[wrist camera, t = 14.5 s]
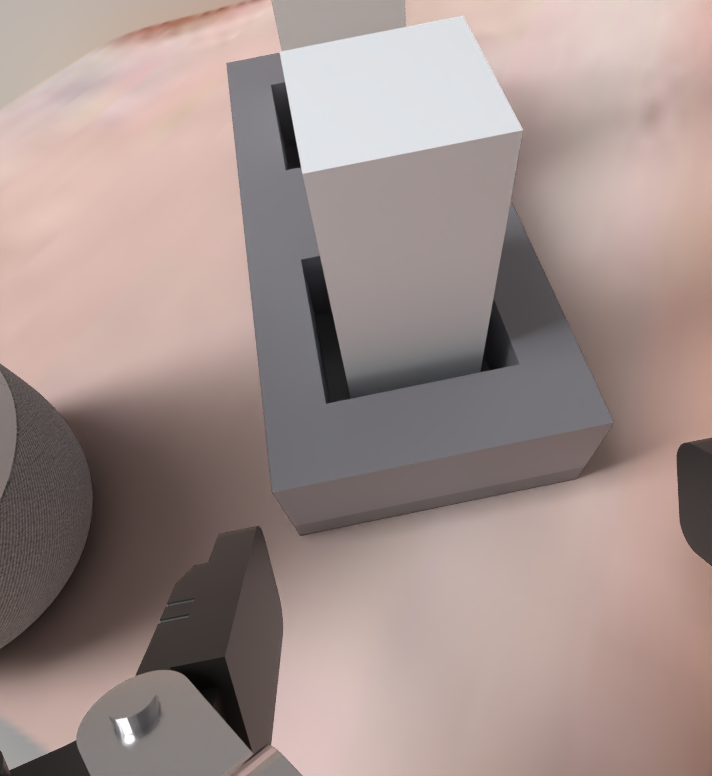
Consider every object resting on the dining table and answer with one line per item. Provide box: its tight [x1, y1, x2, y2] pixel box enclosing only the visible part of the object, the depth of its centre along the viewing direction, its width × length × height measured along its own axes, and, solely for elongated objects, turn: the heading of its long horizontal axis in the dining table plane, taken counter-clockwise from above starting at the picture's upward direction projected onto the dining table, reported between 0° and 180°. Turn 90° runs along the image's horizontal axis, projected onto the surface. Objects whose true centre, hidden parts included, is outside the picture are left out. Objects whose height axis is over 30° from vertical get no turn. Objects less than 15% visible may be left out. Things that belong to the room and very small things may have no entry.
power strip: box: [226, 0, 614, 535], centre depth 18 cm, size 9×20×11 cm, turn 10°
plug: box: [280, 16, 523, 399], centre depth 15 cm, size 4×4×10 cm
